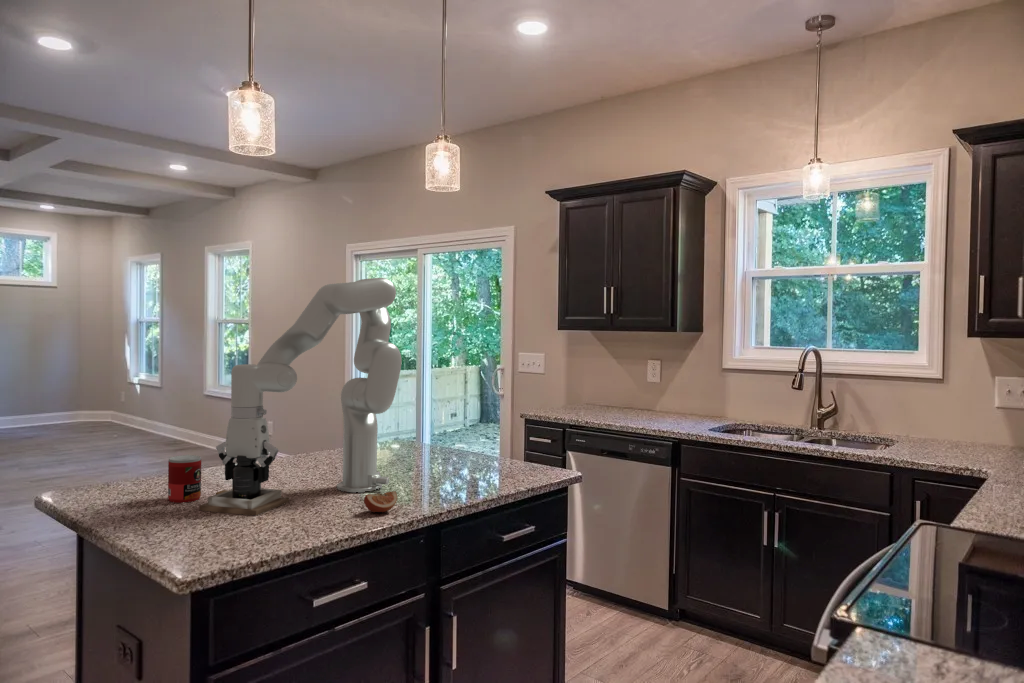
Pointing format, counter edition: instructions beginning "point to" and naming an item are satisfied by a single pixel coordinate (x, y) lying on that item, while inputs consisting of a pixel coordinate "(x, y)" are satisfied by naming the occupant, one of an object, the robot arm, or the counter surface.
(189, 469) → the canned food
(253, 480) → the supplement bottle
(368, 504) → the fruit slice
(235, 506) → the pocket board
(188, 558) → the counter surface
